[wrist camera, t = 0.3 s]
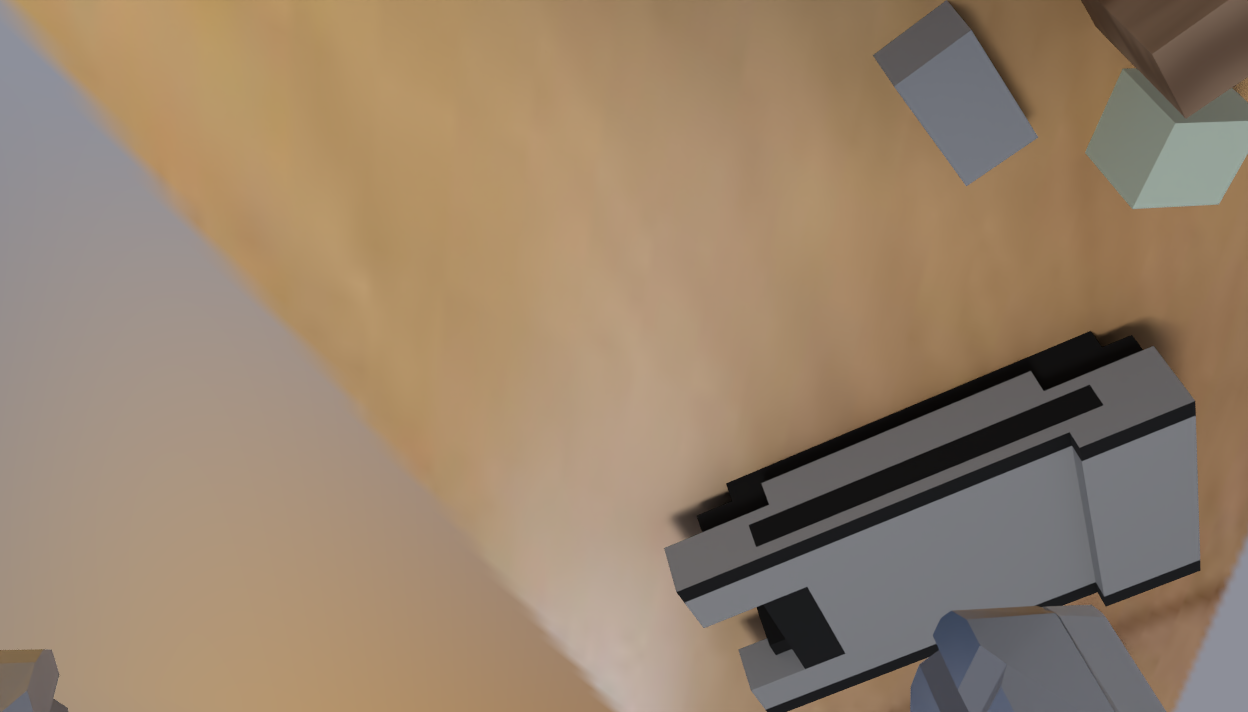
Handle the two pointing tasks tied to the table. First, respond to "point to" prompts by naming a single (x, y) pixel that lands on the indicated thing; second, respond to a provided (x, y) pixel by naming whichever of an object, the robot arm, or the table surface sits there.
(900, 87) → the grey flat brick
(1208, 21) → the walnut column
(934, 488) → the game console
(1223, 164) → the sage cube
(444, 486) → the table surface
